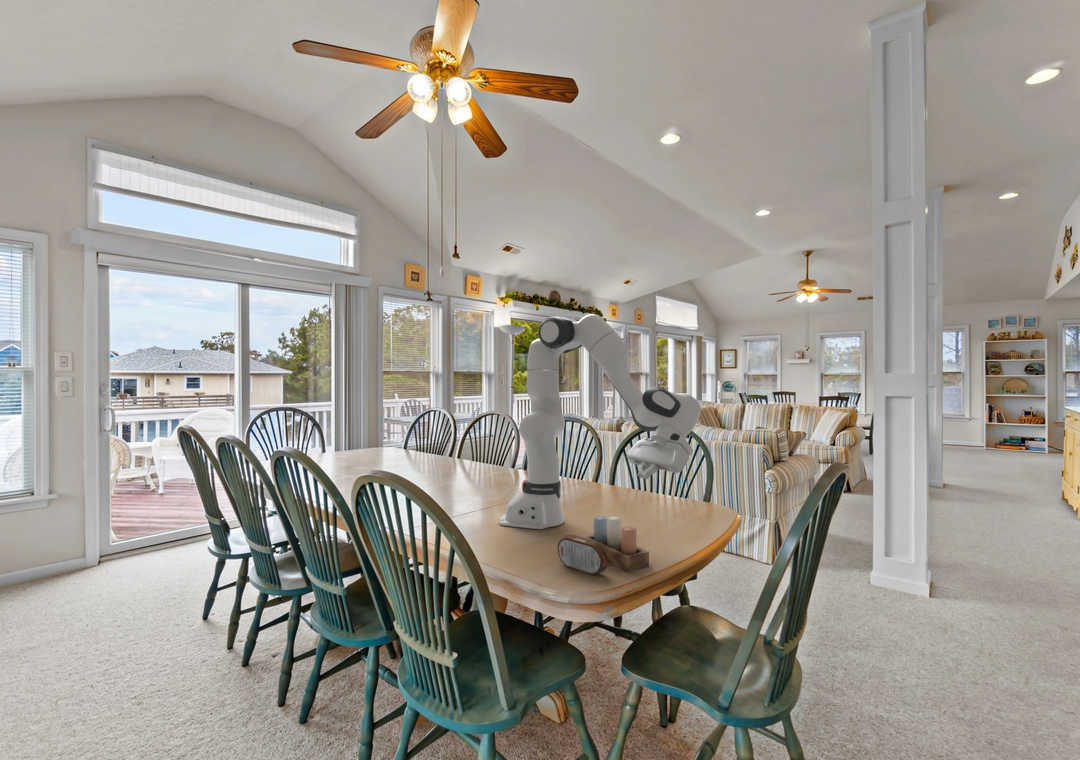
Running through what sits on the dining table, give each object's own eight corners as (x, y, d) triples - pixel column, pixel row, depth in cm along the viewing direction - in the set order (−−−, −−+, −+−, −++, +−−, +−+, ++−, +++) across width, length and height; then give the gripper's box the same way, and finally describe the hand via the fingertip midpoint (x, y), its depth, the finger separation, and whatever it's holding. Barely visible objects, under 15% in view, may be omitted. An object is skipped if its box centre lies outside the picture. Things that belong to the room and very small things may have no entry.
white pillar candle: (606, 549, 139) (606, 520, 139) (607, 544, 143) (607, 516, 143) (621, 549, 139) (621, 520, 139) (621, 545, 143) (621, 516, 143)
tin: (608, 576, 129) (608, 543, 129) (601, 579, 127) (601, 546, 127) (563, 561, 139) (562, 531, 139) (555, 565, 137) (555, 533, 137)
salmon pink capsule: (621, 561, 134) (621, 531, 134) (621, 555, 138) (621, 526, 138) (636, 561, 134) (636, 531, 133) (636, 556, 138) (636, 527, 137)
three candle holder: (649, 566, 135) (649, 551, 135) (626, 572, 131) (626, 557, 131) (604, 546, 151) (604, 532, 151) (582, 551, 147) (582, 537, 147)
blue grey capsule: (593, 548, 144) (593, 520, 144) (594, 543, 148) (594, 516, 148) (607, 548, 144) (607, 520, 144) (608, 543, 148) (607, 516, 148)
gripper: (637, 430, 159) (612, 465, 154) (687, 437, 141) (661, 476, 136) (647, 443, 161) (624, 478, 156) (698, 452, 144) (673, 490, 139)
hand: (642, 477), depth 146 cm, fingers closed
